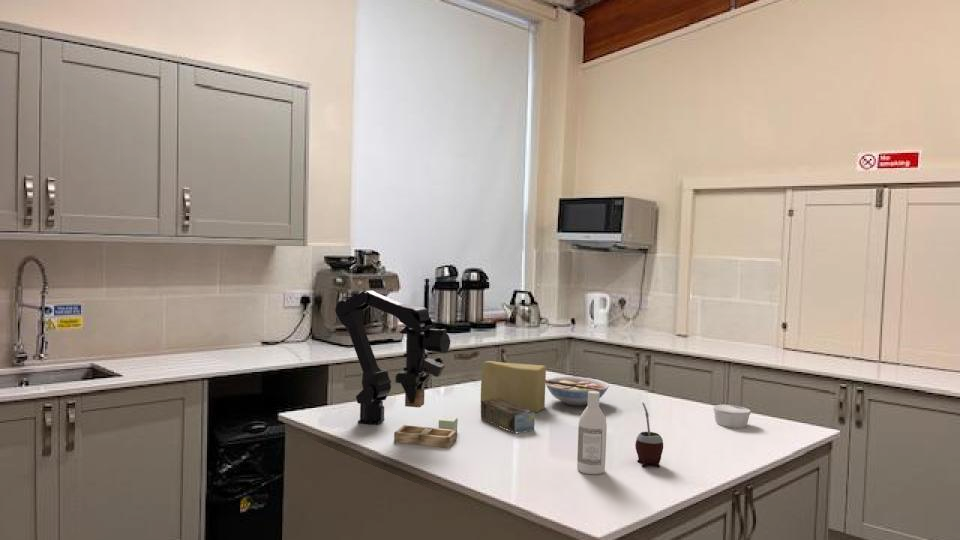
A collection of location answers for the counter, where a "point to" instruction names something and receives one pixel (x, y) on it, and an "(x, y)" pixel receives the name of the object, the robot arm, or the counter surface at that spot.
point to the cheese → (514, 384)
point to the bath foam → (592, 437)
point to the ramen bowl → (575, 389)
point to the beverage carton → (507, 415)
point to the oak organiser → (425, 436)
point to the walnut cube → (416, 399)
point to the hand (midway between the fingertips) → (414, 401)
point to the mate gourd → (649, 446)
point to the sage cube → (448, 423)
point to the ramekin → (731, 416)
